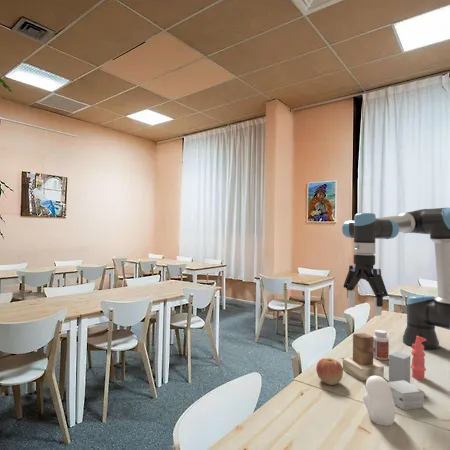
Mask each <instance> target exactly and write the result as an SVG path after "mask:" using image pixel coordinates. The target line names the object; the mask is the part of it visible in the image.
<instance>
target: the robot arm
mask: <svg viewBox="0 0 450 450" xmlns="http://www.w3.org/2000/svg"><path fill="white" fill-rule="evenodd" d="M376 216H377V215H376V214H375V213H373V212H372V213H371V212H370V213H369V212H359V213H356V214H354V217H353V219H351V220H346V221H345V222H344V223H342V227H341V230H342V234H343V236H345V237H346V238H351V239H353V253H354V255H353V265H349V267H348V273H347V275H346V277H345V280H344V283H343V288H344V289H346V292H347V294H346V295H347V296H346V297H347V307H348V308H355V307H356V289H355V288H356V286H357V285H358V283H359V282H360V280H365V282H367V283H368V285H369V286H370V288H371V290H372V292H373V294H374V295H375V296H373V316H375V317H377V316H382V307H383V305H384V304H383V303H384V302H383V301H384V299H383V298H385V297H388V295H389V294H388V291H387V288H386V286H385V282H384V280H383V276H382V271H381V269H380V268H374V266H375V265H376V256H375V254H376V239H377V240H378V239H382V240H384V239H385V240H390V239H395V238H396V237H397V236H398V234H399V233H402V234H420V235H429V239H430V240H431V241H432V242H433V243H434V252H435V253H434V255H435V269H436V283H437V284H436V285H437V295H436V296H434V295H410V296H408V297H407V302H406V327H405V330H404V331H403V335H402V342H403V344H405V345H408V346H410V347H412V344H415V341H416V338H417V337H416V336H420V337H422V338H425V339H426V340H427V341H424V342H422V343H421V344H422V345H424V350H437V349H439V348H440V341H439V339H438V335H437V332H436V327H437V328H441V329H445V330H449V331H450V207H448V206H447V207H437V208H424V209H417V210H413V211H409V212H408V211H407V212H403V213H399V214H398V215H393V216H382V217H376Z"/></svg>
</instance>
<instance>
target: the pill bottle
mask: <svg viewBox="0 0 450 450" xmlns="http://www.w3.org/2000/svg"><path fill="white" fill-rule="evenodd" d="M387 335H388V332H387V331H386V330H381V329H375V330H374V334H373V336H372V337H374V341H373V359H377V360H381V361H386V360H389V354H390V351H389V347H390V346H389V342H390V339H389V338H388V336H387Z"/></svg>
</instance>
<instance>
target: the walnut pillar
mask: <svg viewBox="0 0 450 450" xmlns="http://www.w3.org/2000/svg"><path fill="white" fill-rule="evenodd" d="M373 341H374V337H373V336H372V335H369V334H367V333H365V332H360V333H353V334H352V358H353V361H354V362H356V363H358V364H360V365H362V366H364V365H372V364H373V361H374V357H373Z"/></svg>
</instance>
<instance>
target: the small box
mask: <svg viewBox="0 0 450 450" xmlns="http://www.w3.org/2000/svg"><path fill="white" fill-rule="evenodd" d="M387 383H388V384H389V387H390V389H391V392H392V397H393V400H394V404H395V406H397V407H398V408H399V407H400V408H399V409H401V410H402V409H403V411H404V410H405V409H406V410H412V408H414V409H420V407H422V408H424V407H425V406H424V403H425V400H424V399H425V397H424V396H425V395H424V394H425V392H424V390H422V389H421V388H419V387H418V386H416V385H415V384H413V383H412V384H411V382H410V383H408V382H407V381H405V380H402V381H394V382H389V381H387ZM406 410H405V411H406Z"/></svg>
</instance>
